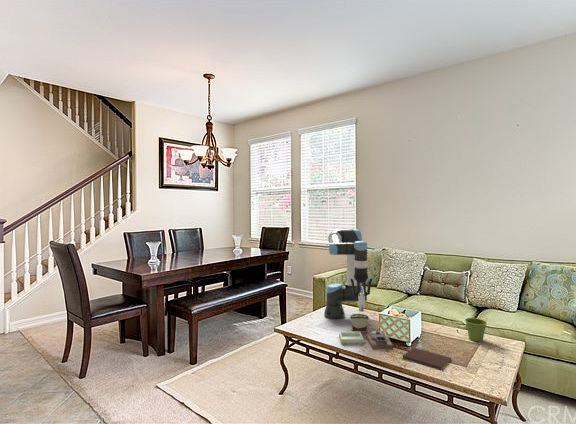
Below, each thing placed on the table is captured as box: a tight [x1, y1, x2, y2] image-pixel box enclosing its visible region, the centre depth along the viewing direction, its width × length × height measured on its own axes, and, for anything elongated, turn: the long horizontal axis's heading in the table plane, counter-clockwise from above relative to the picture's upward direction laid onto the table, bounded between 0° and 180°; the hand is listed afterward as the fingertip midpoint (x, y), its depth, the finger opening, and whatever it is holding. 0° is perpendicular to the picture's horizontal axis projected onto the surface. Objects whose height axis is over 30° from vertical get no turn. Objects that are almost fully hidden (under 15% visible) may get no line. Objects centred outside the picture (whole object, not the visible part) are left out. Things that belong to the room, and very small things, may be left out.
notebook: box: [402, 347, 452, 371], centre depth 175 cm, size 15×20×2 cm
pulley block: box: [365, 330, 394, 350], centre depth 197 cm, size 16×12×5 cm
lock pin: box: [358, 293, 365, 312], centre depth 198 cm, size 3×3×10 cm
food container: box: [349, 313, 370, 333], centre depth 218 cm, size 12×6×10 cm, turn 84°
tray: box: [338, 331, 365, 345], centre depth 202 cm, size 12×13×3 cm
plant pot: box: [464, 317, 488, 343], centre depth 199 cm, size 12×12×11 cm
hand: (361, 306), depth 198 cm, fingers closed on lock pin, 2 cm apart
